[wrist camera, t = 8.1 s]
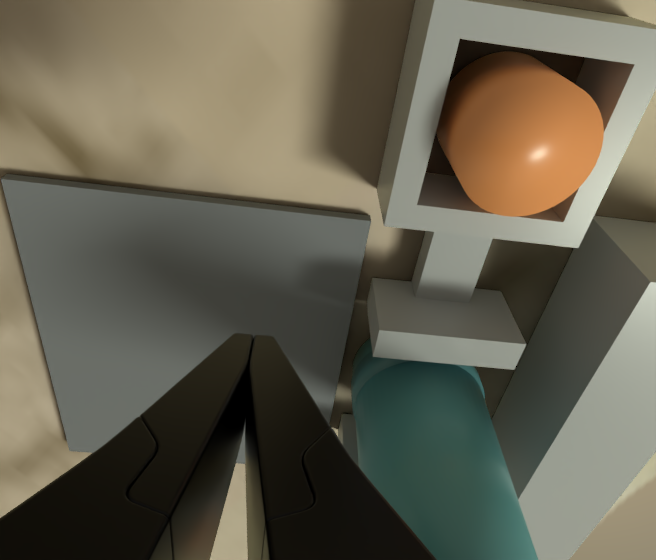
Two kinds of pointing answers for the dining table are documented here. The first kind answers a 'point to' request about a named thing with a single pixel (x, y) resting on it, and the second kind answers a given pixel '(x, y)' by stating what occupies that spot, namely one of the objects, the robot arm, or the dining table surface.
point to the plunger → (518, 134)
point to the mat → (175, 291)
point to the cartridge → (437, 457)
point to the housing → (541, 228)
